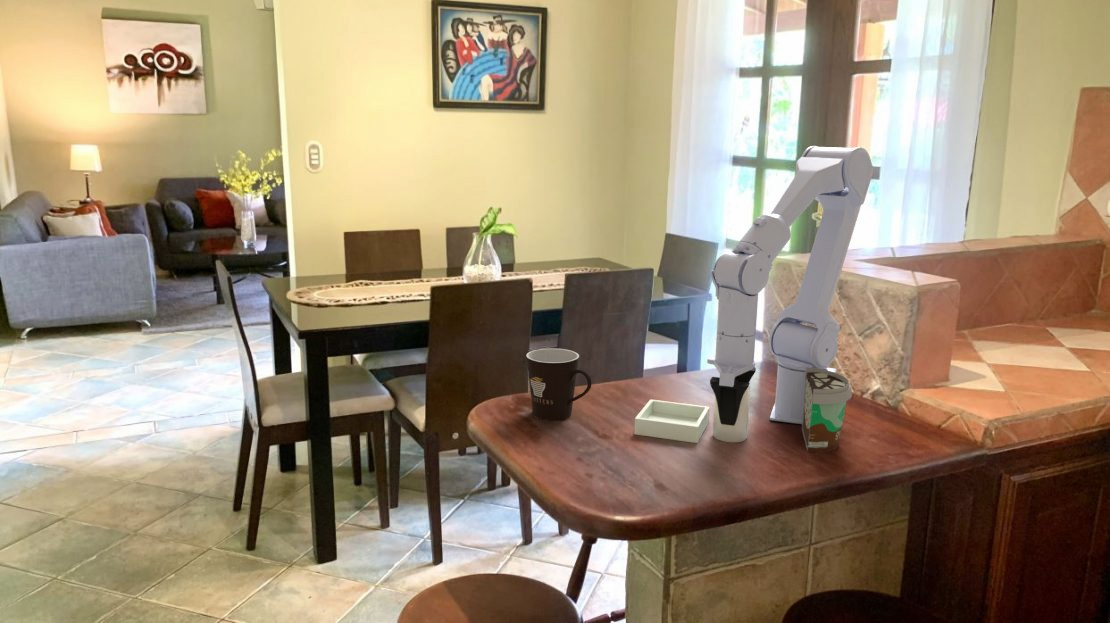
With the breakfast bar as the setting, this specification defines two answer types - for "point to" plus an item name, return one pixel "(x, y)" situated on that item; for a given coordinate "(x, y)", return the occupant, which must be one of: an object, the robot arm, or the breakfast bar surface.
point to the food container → (824, 409)
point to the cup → (741, 425)
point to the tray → (672, 420)
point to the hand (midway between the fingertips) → (730, 418)
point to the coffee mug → (553, 382)
